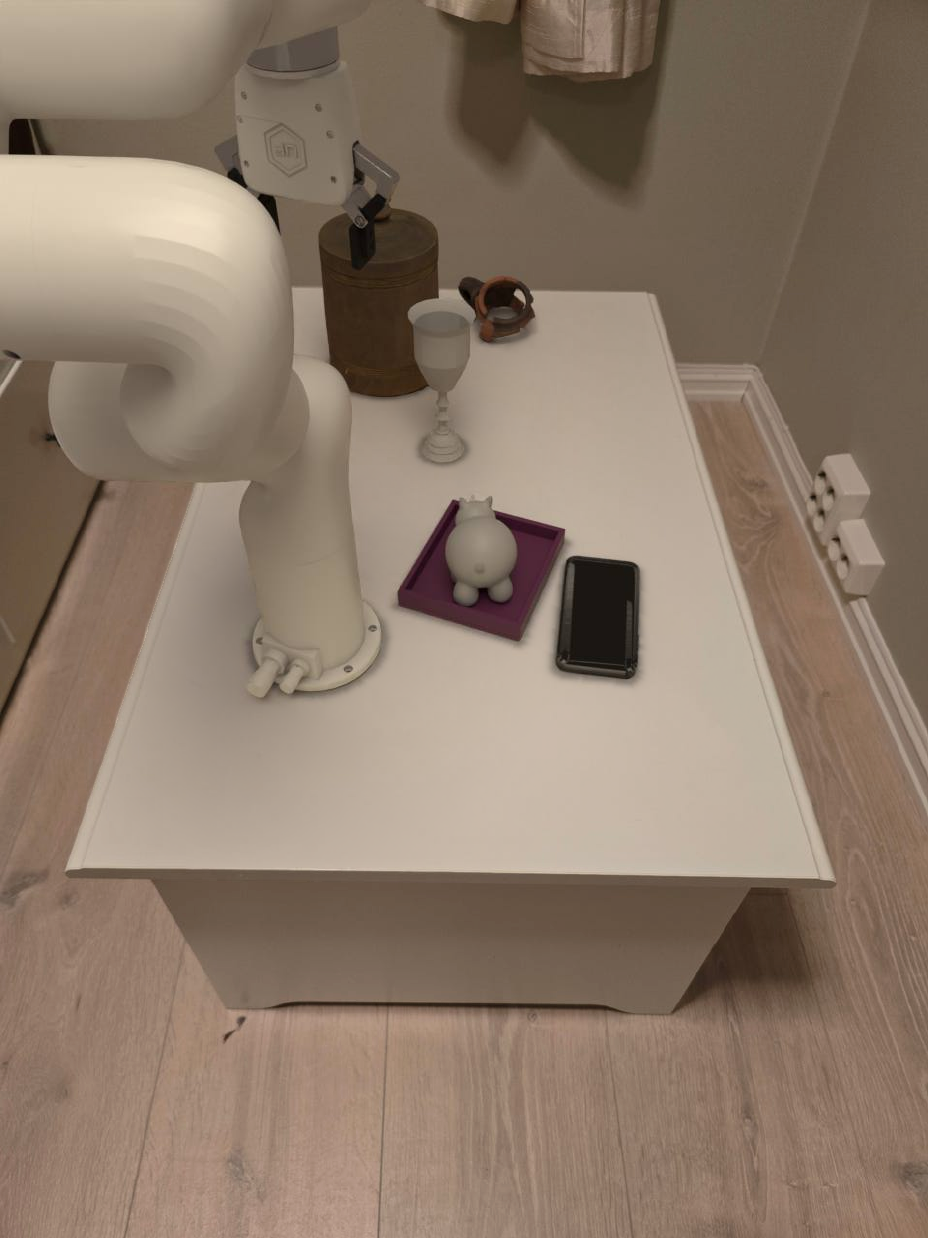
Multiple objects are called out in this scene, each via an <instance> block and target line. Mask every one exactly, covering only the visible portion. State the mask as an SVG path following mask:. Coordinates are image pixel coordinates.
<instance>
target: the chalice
mask: <svg viewBox="0 0 928 1238" xmlns="http://www.w3.org/2000/svg"><path fill="white" fill-rule="evenodd" d="M476 317H477V316H476V315H475V311H474V310H473V309H472V307H471V306H469V305H468V303H467V302H464V301H461V300H457V299H453V298H439V299H430V300H425V301H422V302H419V303H417V304H415V305H414V306H412V307H411V308H410V310H409V311H408V319H409V320H410V322H411V323H412V325H413V334H414V357H415V360H416V362H417V364H418V367H419V369H420V371H421V373H422V375H423V376H424V378H425V379H426V381H427V383H428V384H427V385H428V386H429V388H430V390H432V391H434V392H436V393H437V394H438V395H437V399H436V401H435V403H434V404H435V405H436V406H437V410H438V411H437V413H436V414H435V415H434V417H435V420H437V422H438V427H436V428H434V429H432V430H431V432H429V433H428V435H427V437H426V439H425V441H424V444H423V445H422V448H421V452H422V455H424V457H425V458H426V459H428V460H429V461H432V462H434V463H440V464H441V463H451V462H454V461H456V460H458V459H460V458H461V457H462V456H463V454H464V450H465V448H464V446H463V444H462V441H461V440H460V438H459V435H458V434H457V433H456V432H455V430H454V429H452V428H450V427H448V425H447V424H448V421H449V420H450V419H451V414H449V413H448V407H449V405H450V401H449V399H448V396H447V394H448V393H449V392H452V391H453V390H454V389H455V387H456V385H457V384H458V383H459V381H460V379H461V377H462V376H463V374H464V371H465V369H466V368H467V364H468V362H469V360H470V357H471V326H472V325H473V323H474V321H475V318H476Z"/></svg>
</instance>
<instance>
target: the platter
mask: <svg viewBox="0 0 928 1238" xmlns="http://www.w3.org/2000/svg"><path fill="white" fill-rule="evenodd" d="M459 508H460V507H459V500H457V499H452V500H451V502H450V503H449V505H448V506H447V508H446V510H445V511H444V513H443V515H442V516H441V518H440V519H439V521H438V523H437V524H436V526H435V528H434V530H433V532H432V533H431V535H430V536H429V538H428V540H427V541H426V543H425V545H424V546H423V547H422V550H421V552H420V553H419V555H418V556H417V558H416V559H415V561H414V563H413V565H412V566H411V568H410V570H409V571H408V573H407V574H406V576H405V578H404V580H403V582H402V583H401V584H400V587H398V589H397V603H398V607H402V608H405V609H409V610H411V611H415V612H418V613H422V614H424V615H427V616H432V617H435V618H439V619H441V620H444V621H445V620H446V621H450V622H452V623H455V624H459V625H462V626H466V627H468V628H472V629H475V630H478V631H482V632H486V633H489V634H492V635H496V636H498V637H501V638H502V637H503V638H505V639H509V640H512V641H515V642H520V641H521V639H522V637H523V635H524V633H525V630H526V628H527V626H528V623H529V621H530V619H531V617H532V615H533V612H534V610H535V608H536V606H537V604H538V603H539V602H538V601H539V599H540V597H541V594H542V592H543V591H544V588H545V586H546V584H547V581H548V580H549V577H550V575H551V573H552V571H553V568H554V566H555V564H556V562H557V559H558V558H559V555H560V553H561V551H562V549H563V546H564V544H565V537H566V528H562V527H559V526H555V525H552V524H548V523H545V522H544V523H543V522H540V521H537V520H533V519H529V518H525V517H521V516H517V515H513V514H510V513H507V512H504V511H503V512H502V511H498V510H494V509H493V511H494V513H495V517H496V519H497V520H499V521H500V522H502V523H503V524H504V525H506V526H507V527H508V529H509V530H510V531H511V533H512V534H513V536H514V538H515V541H516V545H517V559H516V563H515V565H514V568H513V570H512V571H511V573H510V574H509V578H510V580H511V582H512V586H513V594H512V596H511V598H510V599H509V600H508V601H506V602H503V603H500V602H495V601H493V600H492V599H491V598H490V597H489V595H488V588H478V590H479V597H478V600H477V602H476V603H475V604H474V605H472V606H468V607H465V606H461V605H459V604H457V603H456V602H455V600H454V598H453V591H454V587H455V585H456V583H455V582H453V580H452V578H451V571H450V569H449V567H448V564H447V561H446V556H445V548H446V543H447V540H448V537H449V535H450V533H451V532H452V530H453V529H454V528H455V527H456V523H455V519H456V514H457V512H458V510H459Z"/></svg>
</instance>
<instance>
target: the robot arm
mask: <svg viewBox="0 0 928 1238" xmlns="http://www.w3.org/2000/svg"><path fill="white" fill-rule="evenodd" d="M372 1H373V0H0V361H15V362H20V361H21V362H54V364H53V367H52V371H51V373H50V377H49V382H48V391H47V404H48V414H49V419H50V423H51V427H52V430H53V433H54V436H55V439H56V441H57V443H58V445H59V446H60V448H61V450H62V452H63V453H64V455H65V456H66V458H68V461H70V462H71V464H72V465H73V466H74V467H75V468H76V469H77V470H79V471H80V473H82V474H84V475H86V476H87V477H88V478H92V479H94V480H99V481H103V482H104V481H105V482H133V483H134V482H135V483H138V482H140V483H180V484H181V483H182V484H183V483H184V484H185V483H188V484H189V483H191V484H192V483H193V484H195V483H197V484H198V483H199V484H209V483H211V484H213V483H227V482H228V483H229V482H241V481H243V482H244V481H245V482H246V481H249V484H248V485H247V487H246V489H245V490H244V493H243V495H242V497H241V501H240V504H239V509H238V525H239V529H240V534H241V538H242V542H243V546H244V550H245V554H246V558H247V562H248V567H249V570H250V575H251V579H252V583H253V587H254V591H255V595H256V599H257V603H258V604H257V605H258V607H259V612H260V615H261V617H260V618H259V620H257V623H256V625H255V627H254V629H253V634H252V638H251V642H252V652H253V655H254V659H255V661H256V663H257V665H258V668H257V669H256V670H255V672H254V673H253V675H252V676H251V678H250V679H249V681H248V682H247V684H246V685H245V687H246V690H247V691H248V692H249V693H250V694H251V695H253V696H256V697H257V698H264V697H265V696H266V694H267V693H268V691H269V690H270V689H271V687H272V685H273V684H274V683H276V684H278V685H279V688H280V690H281V691H282V692H284V693H285V694H289V695H291V694H293V693H294V691H301V692H323V691H327V690H334V689H336V688H338V687H341V686H342V687H343V686H345V685H347V684H349V683H350V682H353V681H354V680H356V679H357V678H359V677H360V676H361V675H362V674H364V673H365V672H366V671H367V670H368V669H369V668H370V667H371V666H372V665H373V663H374V662H375V660H376V658H377V656H378V655H379V653H380V649H381V646H382V636H383V635H382V629H381V628H382V627H381V624H380V620H379V616H378V615H377V614H376V612H375V611H374V609H373V608H372V607H371V606H370V605H369V604H368V602H366V601H365V600H364V599H362V591H361V582H360V574H359V565H358V563H359V562H358V556H357V546H356V545H357V544H356V538H355V530H354V521H353V511H352V502H351V492H350V450H351V437H352V422H353V414H352V413H353V408H352V398H351V393H350V389H349V388H348V386H347V383H346V381H345V380H344V378H343V376H342V375H341V374H340V372H339V371H338V370H337V369H336V368H334V367H333V366H332V365H331V363H328V362H327V361H324V360H323V359H319V358H316V357H313V356H310V355H306V354H305V355H304V354H298V353H294V351H295V350H294V349H295V320H294V318H295V315H294V314H295V313H294V300H293V299H294V298H293V287H292V280H291V271H290V266H289V260H288V255H287V251H286V247H285V245H284V241H283V238H282V234H281V225H280V219H279V212H278V206H277V200H276V198H281V199H286V200H291V201H297V202H302V203H307V204H313V205H319V206H324V207H339V206H341V207H342V209H343V210H344V212H345V213H347V214H348V215H349V217H350V218H351V220H352V221H353V222H354V223H353V224H352V225H351V226H350V227H349V240H350V251H351V263H352V267H353V268H354V270H359V271H360V270H361V269H362V268H363V267H364V266H365V265H366V264H367V263H368V262H369V261H370V260H371V259H372V257H373V256H374V254H375V251H376V243H375V228H374V217H375V216H376V215H377V214H378V213H379V212H380V211H381V210H382V209H383V208H384V207H385V206H386V205H387V204H389V203H390V202H391V200H392V197H393V195H394V193H395V190H396V188H397V187H398V184H399V182H400V178H401V177H400V176H401V175H400V174H399V172H398V171H397V170H396V169H394V168H393V167H391V166H390V165H388V164H387V163H386V162H385V161H383V160H382V159H380V158H379V157H378V156H376V155H375V154H374V153H372V152H371V151H370V150H368V149H367V148H366V147H365V145H364V137H363V130H362V124H361V117H360V112H359V105H358V101H357V96H356V92H355V88H354V84H353V79H352V76H351V73H350V70H349V69H350V68H349V65H348V63H347V61H346V60H342V59H341V56H340V44H339V43H340V41H339V32H338V26H340V25H344V24H347V23H349V22H352V21H354V20H356V19H358V18H359V17H361V16H362V15H363V14H365V12H366V11H367V10H368V9H369V8H370V6H371V3H372ZM233 79H234V114H235V127H236V134H234V135H232V136H231V137H229V138H227V139H225V140H223V141H222V142H220V143H219V144H216V146H214V148H213V149H214V154H215V155H216V157H217V160H218V161H219V162H220V165H221V167H222V168H223V170H224V171H226V176H224V175H222V174H220V173H217V172H215V171H212V170H210V169H207V168H204V167H200V166H196V165H192V164H187V163H183V162H180V161H176V160H166V159H160V158H159V159H158V158H150V157H128V156H93V155H92V156H91V155H88V156H87V155H60V154H59V155H57V154H54V155H52V154H50V155H49V154H9V152H10V151H9V146H10V144H9V143H10V139H9V138H10V125H11V123H12V122H13V121H14V120H19V119H20V120H21V119H22V120H24V119H25V120H84V121H125V122H127V121H130V122H131V121H136V122H137V121H141V122H144V121H145V122H154V121H155V122H156V121H157V122H158V121H167V120H173V119H174V120H175V119H180V118H185V117H187V116H190V115H193V114H195V113H197V112H199V111H202V110H203V109H205V108H207V107H208V106H209V105H211V104H212V103H213V102H215V101H216V100H217V99H218V98H219V97H220V96H221V95H222V94H223V92H224V91H225V90H226V89H227V87H228V86H229V84H230V83H231V82H232V80H233ZM366 176H367V177H369V178H370V179H371V180H372V181H374V182H375V185H376V189H375V190H374V191H375V192H374V194H373V197H372V195H371V194H370V192H369V191H368V190H367V188H366V187H365V186H364V184H365V183H366ZM275 197H276V198H275Z"/></svg>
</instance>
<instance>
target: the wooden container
mask: <svg viewBox="0 0 928 1238" xmlns="http://www.w3.org/2000/svg"><path fill="white" fill-rule="evenodd" d="M353 223H354V222H353V221H352V220H351V218H350V217H349V215H348V214H347V213H346V212H344V213H341V214H338V215H336V216H334V217H332V218H330V219H328V221H326V222H325V223H323V225H322V226H321V227H320V229H319V231H318V236H317V239H318V240H317V243H318V253H319V260H320V272H321V273H320V274H321V285H322V296H323V297H322V298H323V310H324V319H325V320H324V321H325V329H326V330H325V331H326V338H327V344H328V345H327V346H328V353H329V360H330V361H329V362H330V365H332V366H333V367H334V368H336V369H337V370H338V371H339V372H340V374H341V375H342V376H343V378H344V380H345V381H346V383H347V386H348V388H349V390H350V391H353V392H356V393H358V394H359V393H360V394H362V395H370V396H377V397H390V396H391V397H393V396H400V395H405V394H408V393H412V392H415V391H418V390H420V389H422V388H424V387H426V386H427V385H429V384H428V383H427V381H426V379H425V378H424V376H423V375H422V373H421V371H420V369H419V367H418V364H417V362H416V360H415V357H414V334H413V325H412V323H411V322H410V320H409V319H408V311H409V310H410V308H411V307H412V306H414V305H415V304H417V303H419V302H422V301H425V300H430V299H440V293H439V292H440V290H439V287H440V286H439V264H438V263H439V253H440V252H439V248H440V247H439V234H438V230H437V227H436V226H435V224H434V223H433V222H432V221H431V220H429V219H428V218H427V217H425V216H423V215H420V214H419V213H416V212H414V211H410V210H406V209H401V208H395V207H394V208H393V207H391V205H390V204H389V203H388V204H387V205H386V206H385V207H384V208H383V209H382V210H381V211H380V212H379V213H378V214H377V215H376V216H375V217H374V228H375V243H376V251H375V254H374V256H373V257H372V259H371V260H370V261H369V262H368V263H367V264H366V265H365V266H364V267H363V268H362V269H361V270H360V271H359V270H354V268H353V267H352V263H351V251H350V240H349V227H350V226H351V225H352V224H353Z"/></svg>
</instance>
